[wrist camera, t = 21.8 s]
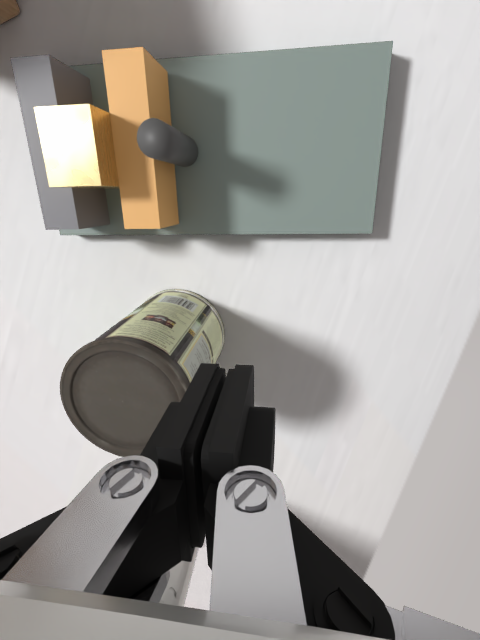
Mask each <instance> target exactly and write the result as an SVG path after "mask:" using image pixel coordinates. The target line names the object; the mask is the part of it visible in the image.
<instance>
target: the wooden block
mask: <svg viewBox="0 0 480 640" xmlns="http://www.w3.org/2000/svg"><path fill="white" fill-rule="evenodd" d="M19 13H20V10H19V7H18V4H17V2H16V0H0V25H1V24H2V23H4V22H6V21H8V20H10V19H11V18H13V17H15V16H17V15H18V14H19Z"/></svg>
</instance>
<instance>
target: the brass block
mask: <svg viewBox="0 0 480 640" xmlns="http://www.w3.org/2000/svg"><path fill="white" fill-rule="evenodd" d="M34 110H35V115H36V120H37V125H38V130H39V136H40V141H41V146H42V151H43V156H44V161H45V167H46V172H47V177H48V182H49V187H64V188H92V189H119V181H118V174H117V166H116V158H115V150H114V143H113V135H112V127H111V119H110V113H108V112H106V111H104V110H102V109H100V108H97V107H95V106H93V105H91V104H78V105H61V106H45V107H34Z"/></svg>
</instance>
